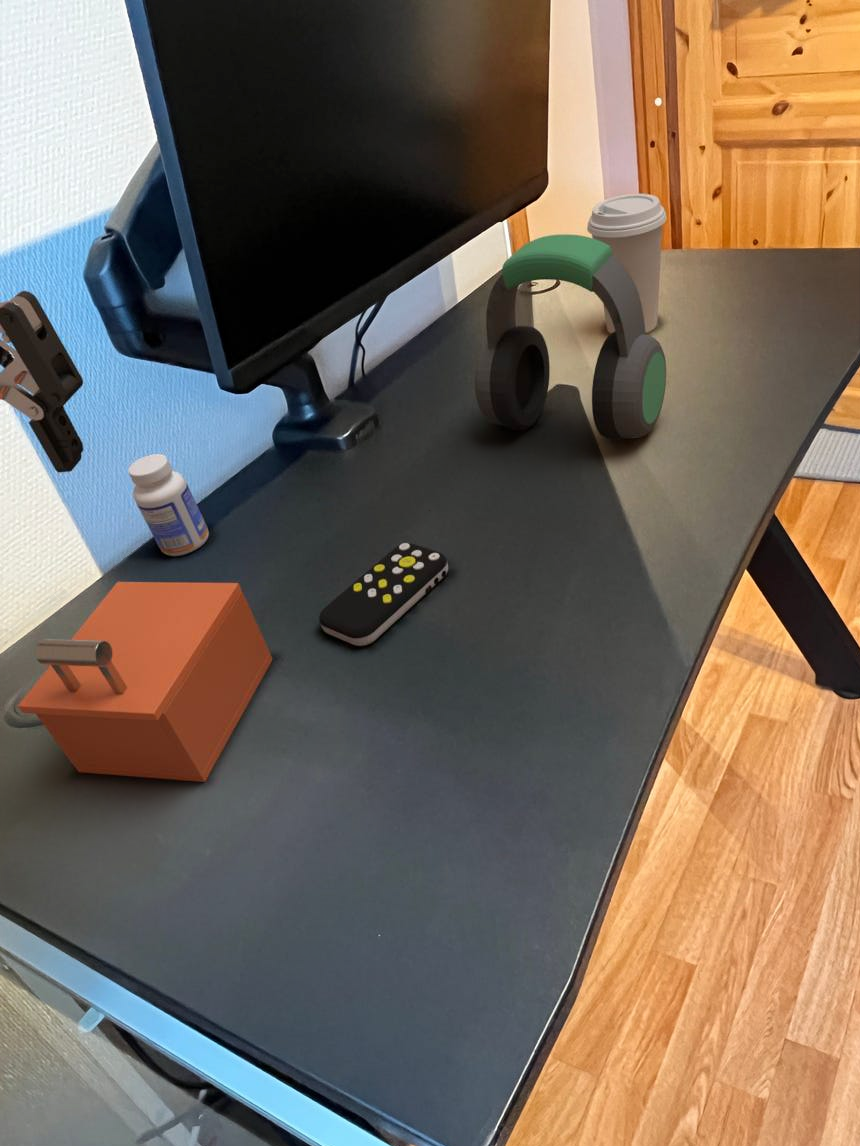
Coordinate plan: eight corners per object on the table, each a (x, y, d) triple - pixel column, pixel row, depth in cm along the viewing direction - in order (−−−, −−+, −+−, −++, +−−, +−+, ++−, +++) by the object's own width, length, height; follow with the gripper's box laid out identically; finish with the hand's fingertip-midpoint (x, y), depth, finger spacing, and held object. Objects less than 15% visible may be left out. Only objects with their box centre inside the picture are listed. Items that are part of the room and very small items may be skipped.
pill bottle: (189, 523, 96) (152, 445, 90) (220, 534, 93) (184, 454, 87) (150, 550, 93) (109, 472, 87) (181, 562, 90) (142, 483, 84)
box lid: (158, 721, 61) (124, 666, 57) (22, 713, 64) (-18, 660, 61) (241, 590, 71) (217, 536, 68) (121, 588, 74) (92, 537, 71)
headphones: (672, 410, 96) (668, 221, 83) (638, 462, 90) (627, 265, 77) (519, 397, 105) (493, 223, 92) (477, 444, 98) (443, 263, 85)
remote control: (316, 631, 78) (309, 614, 77) (407, 552, 85) (402, 536, 83) (365, 653, 75) (359, 636, 73) (456, 569, 81) (452, 552, 80)
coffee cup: (589, 319, 118) (578, 202, 108) (658, 305, 118) (654, 186, 108) (604, 348, 111) (594, 224, 101) (678, 332, 111) (675, 207, 101)
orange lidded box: (205, 782, 67) (163, 713, 62) (78, 772, 70) (29, 705, 65) (273, 659, 76) (242, 590, 71) (159, 655, 79) (121, 589, 74)
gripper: (5, 163, 47) (135, 431, 57) (-216, 203, 49) (-52, 453, 60) (-74, 206, 41) (86, 495, 52) (-317, 249, 44) (-117, 515, 55)
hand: (12, 472), depth 56 cm, fingers open, 8 cm apart
